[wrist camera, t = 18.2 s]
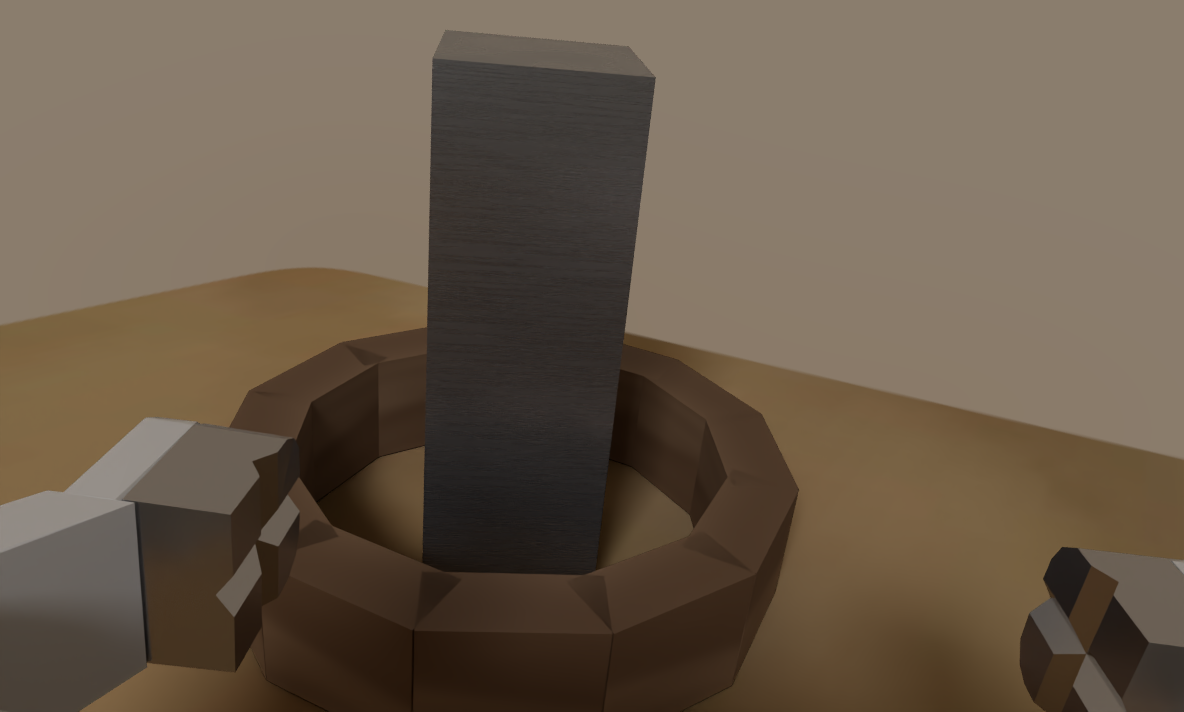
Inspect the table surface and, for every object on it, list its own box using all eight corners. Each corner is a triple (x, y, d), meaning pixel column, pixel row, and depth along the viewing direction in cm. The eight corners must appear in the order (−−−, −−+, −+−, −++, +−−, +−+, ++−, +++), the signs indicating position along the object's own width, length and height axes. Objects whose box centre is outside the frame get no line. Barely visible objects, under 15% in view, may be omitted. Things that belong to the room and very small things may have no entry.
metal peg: (579, 498, 26) (628, 46, 20) (592, 595, 22) (655, 77, 17) (433, 494, 25) (445, 29, 20) (421, 592, 21) (432, 57, 16)
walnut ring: (709, 420, 30) (724, 337, 29) (838, 753, 18) (871, 638, 17) (294, 401, 29) (290, 313, 27) (143, 752, 17) (122, 625, 16)
